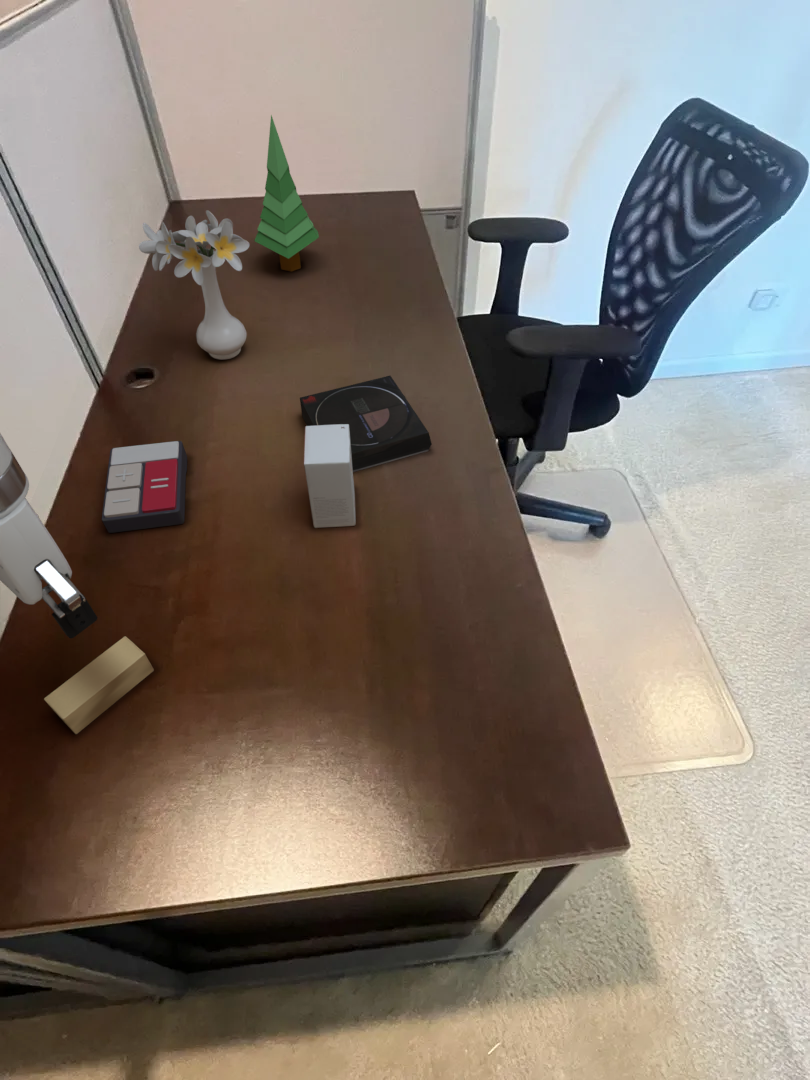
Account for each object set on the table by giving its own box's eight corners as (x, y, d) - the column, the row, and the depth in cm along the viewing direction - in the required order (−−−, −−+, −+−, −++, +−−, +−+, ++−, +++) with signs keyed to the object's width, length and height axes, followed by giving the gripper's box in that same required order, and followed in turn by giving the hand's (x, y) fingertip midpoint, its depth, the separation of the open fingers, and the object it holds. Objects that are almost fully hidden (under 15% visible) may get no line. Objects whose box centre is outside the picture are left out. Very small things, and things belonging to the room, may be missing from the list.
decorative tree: (319, 247, 156) (305, 99, 133) (323, 281, 146) (308, 127, 123) (260, 251, 155) (236, 102, 132) (260, 285, 144) (233, 130, 122)
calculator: (98, 517, 95) (108, 444, 104) (109, 536, 98) (117, 463, 107) (178, 508, 96) (180, 436, 105) (185, 526, 100) (187, 455, 109)
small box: (313, 490, 104) (304, 424, 94) (354, 488, 104) (349, 422, 94) (312, 529, 99) (303, 464, 89) (355, 527, 99) (350, 461, 89)
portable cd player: (431, 450, 110) (432, 431, 107) (332, 477, 106) (330, 459, 103) (393, 393, 120) (393, 374, 117) (302, 416, 116) (299, 397, 113)
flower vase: (183, 331, 133) (146, 200, 114) (275, 334, 132) (253, 204, 113) (163, 370, 124) (120, 236, 105) (261, 374, 124) (236, 239, 105)
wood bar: (76, 735, 78) (63, 719, 75) (57, 714, 79) (43, 698, 76) (154, 670, 83) (145, 653, 80) (135, 652, 85) (125, 635, 82)
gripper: (-118, 463, 58) (-21, 583, 71) (-16, 561, 51) (71, 674, 64) (-34, 420, 62) (43, 541, 75) (72, 505, 55) (137, 623, 68)
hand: (56, 602), depth 69 cm, fingers open, 9 cm apart
